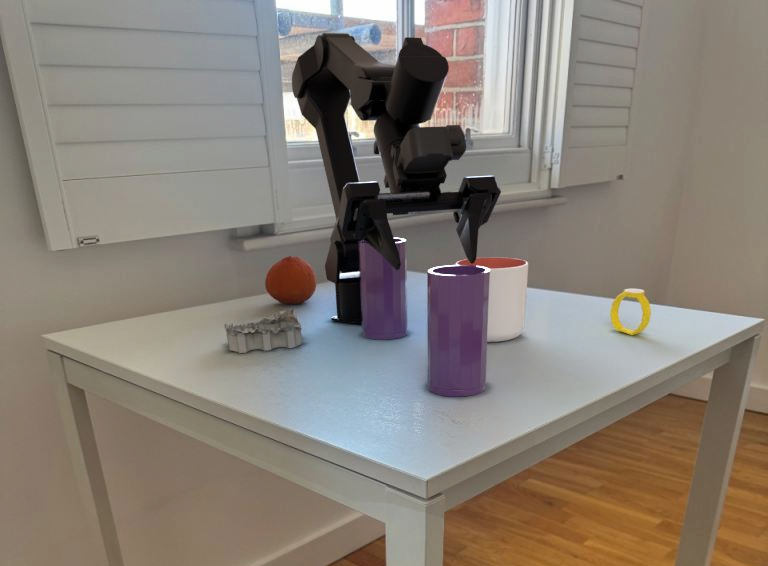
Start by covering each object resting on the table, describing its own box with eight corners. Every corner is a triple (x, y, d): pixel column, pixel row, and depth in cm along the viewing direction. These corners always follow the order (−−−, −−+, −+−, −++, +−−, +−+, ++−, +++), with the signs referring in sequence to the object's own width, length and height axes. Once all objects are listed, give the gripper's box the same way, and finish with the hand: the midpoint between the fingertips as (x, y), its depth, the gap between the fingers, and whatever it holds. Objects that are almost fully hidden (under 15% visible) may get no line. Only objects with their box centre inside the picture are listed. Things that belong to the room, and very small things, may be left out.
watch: (604, 330, 101) (609, 288, 99) (617, 327, 103) (623, 285, 100) (637, 338, 97) (644, 294, 94) (651, 335, 98) (657, 292, 95)
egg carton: (299, 336, 104) (296, 308, 102) (304, 348, 98) (302, 319, 96) (226, 341, 102) (222, 313, 100) (227, 355, 96) (223, 324, 94)
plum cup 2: (417, 391, 80) (416, 273, 74) (445, 375, 85) (446, 263, 79) (468, 400, 77) (472, 277, 70) (494, 383, 81) (500, 267, 75)
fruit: (290, 296, 130) (286, 250, 126) (327, 300, 126) (323, 253, 122) (256, 305, 124) (251, 258, 120) (293, 310, 119) (289, 261, 116)
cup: (522, 345, 96) (527, 269, 91) (449, 343, 98) (451, 268, 93) (524, 327, 104) (529, 257, 100) (457, 326, 106) (459, 257, 101)
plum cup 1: (353, 336, 103) (349, 242, 97) (378, 326, 108) (375, 236, 101) (391, 341, 99) (389, 245, 93) (415, 331, 104) (414, 238, 98)
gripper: (338, 100, 75) (370, 220, 71) (497, 96, 79) (537, 209, 75) (327, 178, 85) (354, 287, 81) (468, 171, 90) (501, 274, 85)
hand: (436, 264), depth 80 cm, fingers open, 9 cm apart
